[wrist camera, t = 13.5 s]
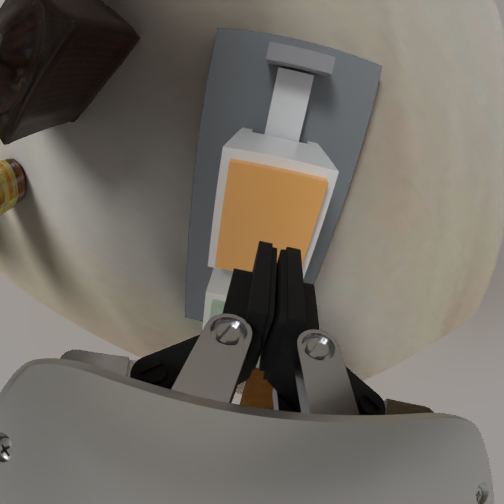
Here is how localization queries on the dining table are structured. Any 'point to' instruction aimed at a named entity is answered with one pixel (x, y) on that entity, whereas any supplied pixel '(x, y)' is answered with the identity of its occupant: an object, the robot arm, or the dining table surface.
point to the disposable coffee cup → (257, 391)
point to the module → (269, 198)
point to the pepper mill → (55, 60)
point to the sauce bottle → (10, 184)
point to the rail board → (273, 133)
